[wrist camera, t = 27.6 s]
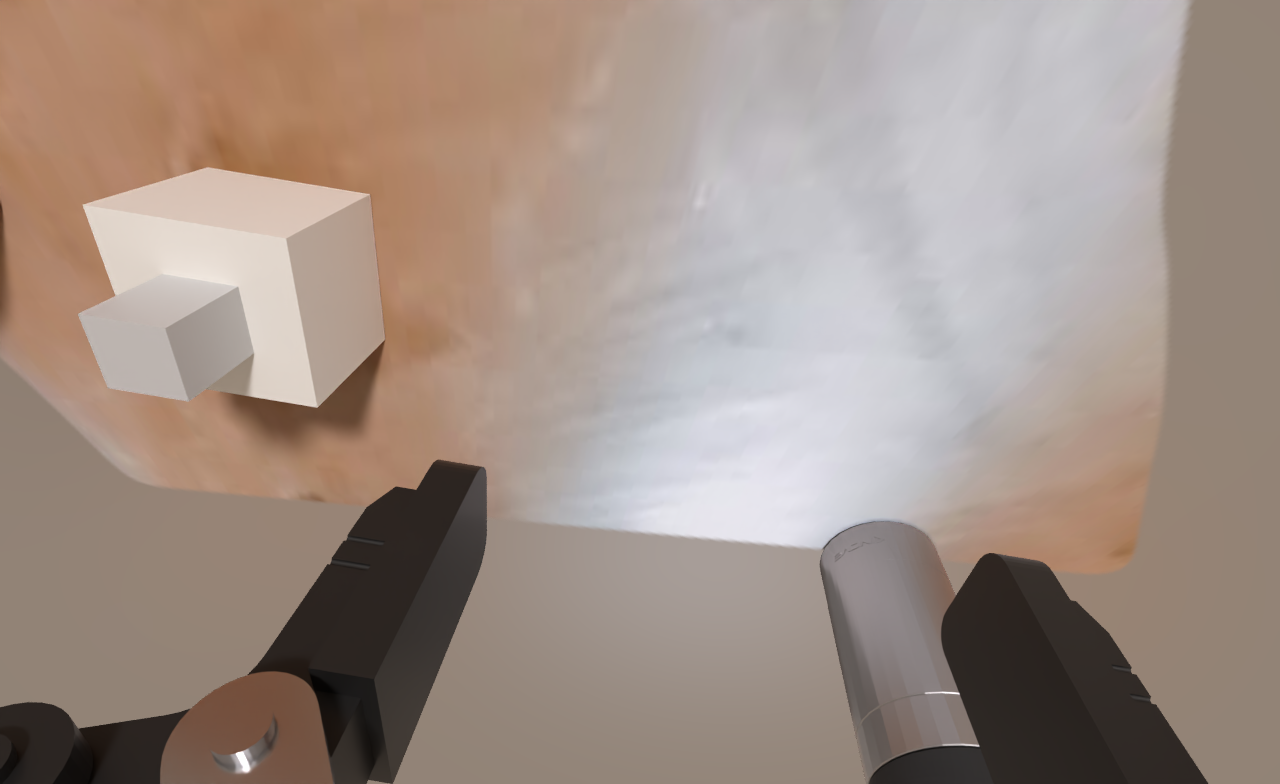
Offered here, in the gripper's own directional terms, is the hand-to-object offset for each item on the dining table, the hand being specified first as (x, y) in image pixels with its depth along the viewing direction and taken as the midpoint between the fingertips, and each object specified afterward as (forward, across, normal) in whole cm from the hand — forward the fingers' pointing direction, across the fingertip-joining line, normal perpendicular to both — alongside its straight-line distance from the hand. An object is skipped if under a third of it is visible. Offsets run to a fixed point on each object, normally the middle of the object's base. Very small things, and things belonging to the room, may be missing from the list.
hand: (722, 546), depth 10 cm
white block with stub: (+29, +25, +10) cm, 40 cm away
